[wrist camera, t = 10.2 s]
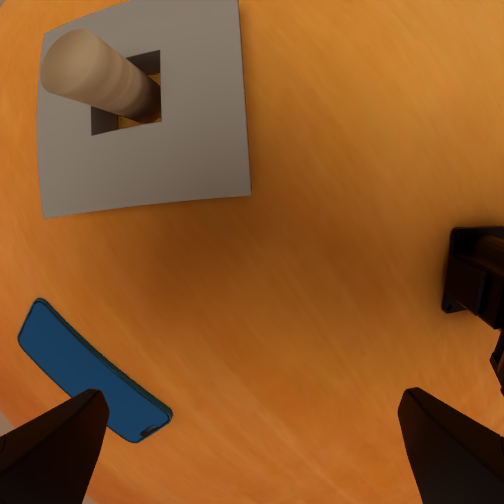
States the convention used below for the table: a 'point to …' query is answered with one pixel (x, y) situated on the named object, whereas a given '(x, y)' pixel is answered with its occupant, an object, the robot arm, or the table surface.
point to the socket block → (155, 134)
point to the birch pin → (99, 77)
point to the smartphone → (89, 373)
